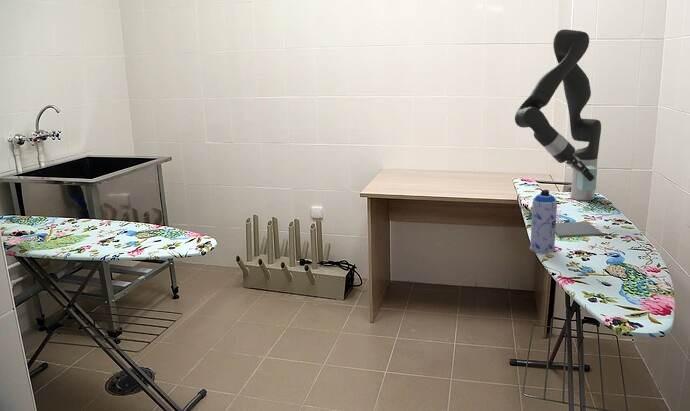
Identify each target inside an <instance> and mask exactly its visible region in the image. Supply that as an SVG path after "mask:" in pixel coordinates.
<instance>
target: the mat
mask: <svg viewBox="0 0 690 411" xmlns="http://www.w3.org/2000/svg"><path fill="white" fill-rule="evenodd" d="M555 235H557V236H558V237H559V238H565V237H585V236H586V237H588V236H590V237H591V236H604V233H603V232H602V231H600V230H599V229H598V228H596V226H594V225H593V224H591V223H590V222H588V221H575V222H574V221H572V222H570V221H569V222H556V229H555Z"/></svg>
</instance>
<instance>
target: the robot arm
mask: <svg viewBox="0 0 690 411" xmlns="http://www.w3.org/2000/svg"><path fill="white" fill-rule="evenodd" d="M552 44H553V46H552V47H553V52H554V55H555V59H556V61H557V65H556V66H554V67H553V68H552V69H550V70H549V71H547V72H546V73H545V74H543V75H542V76H541V77H540V79H539V80H538V81H537V83H536V84H535V86H534V88H532V91H531V92H530V95H529V96H528V97H527V98H526V99H525V100H524V101H523V102H522V104H521V105H520V107H519V108H518V109H517V110H516V113H515V115H514V122H515V124H516V125H517V127H519V128H523V129H524V128H525V129H526V128H530V129H531V130H532V131H533V137H534V138H535V140H536V141H537V142H538V143H539V144H540V145H541V146H542V147H543V148H544V149H545V151H546V152H547V153H548V154H549V155H551V157H552V158H554V160H555V161H557V163H560V164H563V163H565V164H566V165H567V166H569V167H570V169H572V175H571V191H570V197H571V199H573V200H575V201H576V200H577V201H592V200H595V196H596V190H585V191H582V190H580V189H579V188H577V176H578V171H579V172H580V173H581V174H582V175H584V176H585V177H586V178H587V179H588V180H589V181H592V180H593V179H594V178H595V177H594V176H593V175H592V174H591V173H590V172H589V171H590V170H589V169H588V168H587V167H586V166H593V167H595V168H597V169H598V157H599V151H600V141H601V140H600V139H601V134H602V123H601V121H600V120H599V119H595V118H594V119H593V118H582V117H581V113H582V111H583V110H584V108H585V106H586V105H587V104H588V102H589V101H590V98H591V96H592V94H591V93H592V91H591V90H592V89H591V85H590V84H591V83H590V79H589V78H588V75H587V74H586V72H584V70H583V69H582V68H581V66H580V65H579V64H578V63H579V62H580V60H581V59H582V58H583V56H584V55H585V53H586V52H587V50H588V48H589V45H590V36H589V34H588V33H587V32H586V31H581V30H574V29H560V30H558V31H557V32H556V33H555V35H554V37H553V43H552ZM561 83H562V85H563V90H564V94H565V96H564V97H565V99H566V104H567V109H568V114H569V116H568V118H569V126H570V127H569V128H570V134H571V135H570V136H571V137H572V139H573V140H574V141H577V142H585V143H586V142H587V143H588V145H587V146H585V147H582V148H578V149H576V148H575V147H574V146H573V144H571V142H569V141H568V140H567V138H565V136H563V135H562V134H560V133H559V132H558V131H557V130H556V129H555V128H554V127H553V126H552V125H551V124H550V122H549V120H548V118H547V117H546V115H545V114H544V112H542V111H541V109H542V108H544V107H546V106H547V105H548V104H549V102H550V101H551V99H552V97H553V96H554V94H555V93H556V91H557V89H558V88H559V86H560V85H561ZM584 169H585V170H584ZM583 170H584V171H583Z"/></svg>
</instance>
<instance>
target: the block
mask: <svg viewBox="0 0 690 411" xmlns="http://www.w3.org/2000/svg"><path fill="white" fill-rule="evenodd" d="M586 167H587V168H588V169H589V170H590V171H589V172H590V173H591V174H592V175H593V176H594V177H595V178H594V179H593V180H592V181H589V180H588V179H587V178H586V177H585V176H584V175H582V174H581V173H580V172H579V171H578V176H577V188H579V189H580V190H582V191H585V190H595V191H596V190H597V179H598V178H597V177H598V176H597V175H598V167H597V168H595V167H593V166H586ZM584 170H585V169H584ZM584 170H583V171H584Z"/></svg>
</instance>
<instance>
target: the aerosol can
mask: <svg viewBox="0 0 690 411" xmlns="http://www.w3.org/2000/svg"><path fill="white" fill-rule="evenodd" d="M531 205H532V208H531V209H532V210H531V226H530V246H529V250H530V251H531V252H534V253H537V254H551V253H554V252H555V251H556V248H555V244H556V233H555V229H556V223H557V211H558V210H557V208H558V200H557V199H556V198H555V196H553V195H552V194H550V190H548V189H543V190H541V193H539V194H538V195H536V196H535V197H534V198H533V199H532V204H531Z"/></svg>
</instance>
